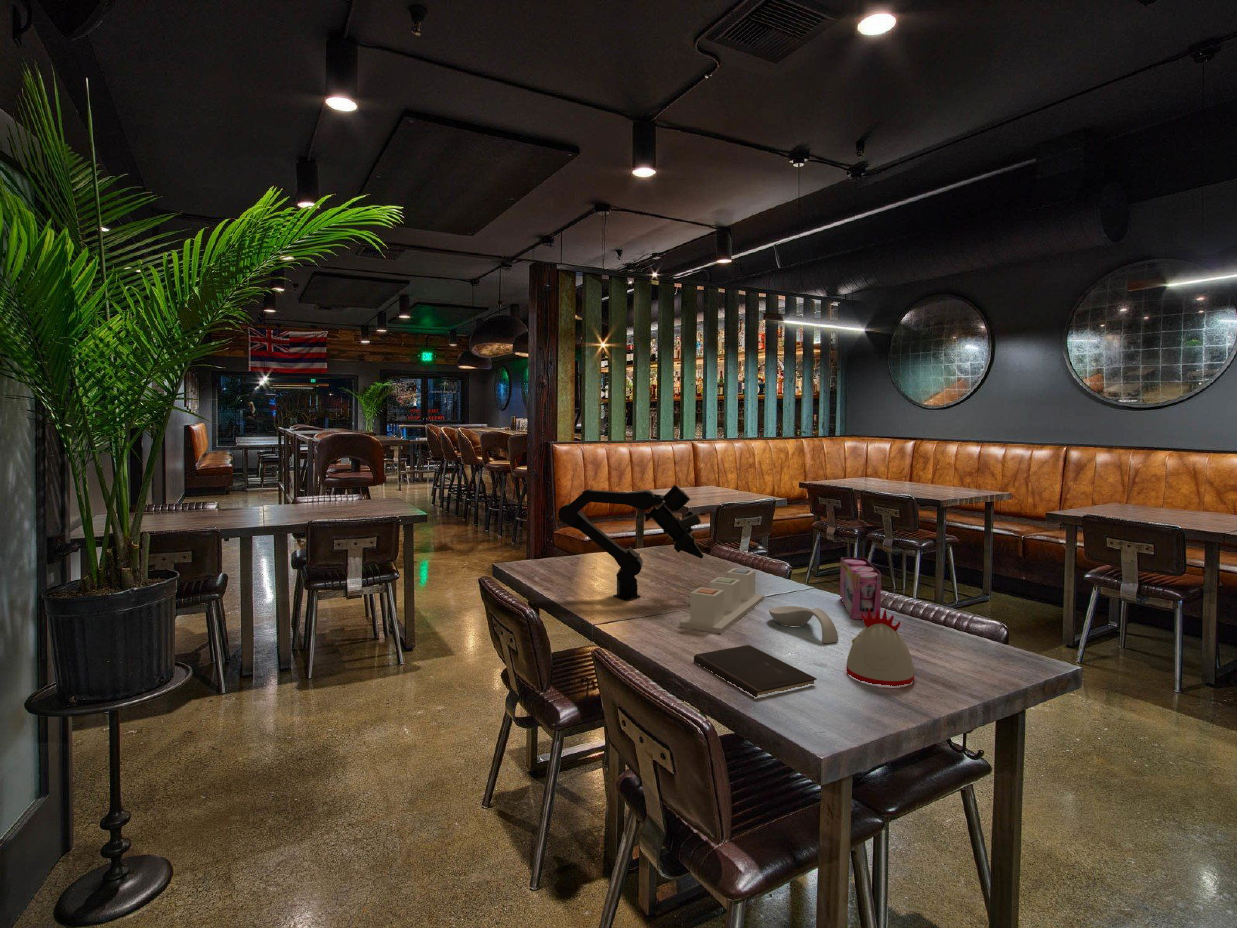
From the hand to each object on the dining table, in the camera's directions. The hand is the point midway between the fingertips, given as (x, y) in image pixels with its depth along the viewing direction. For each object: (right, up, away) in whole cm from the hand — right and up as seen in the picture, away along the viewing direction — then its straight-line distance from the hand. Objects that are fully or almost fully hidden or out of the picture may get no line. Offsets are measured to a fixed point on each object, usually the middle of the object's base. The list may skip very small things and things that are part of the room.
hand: (702, 557), depth 202 cm
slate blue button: (+12, -8, -1) cm, 14 cm away
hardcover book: (+3, -18, -59) cm, 62 cm away
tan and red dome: (+31, -18, -60) cm, 70 cm away
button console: (+5, -14, -13) cm, 20 cm away
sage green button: (+5, -9, -13) cm, 16 cm away
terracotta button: (-2, -9, -25) cm, 27 cm away
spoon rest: (+24, -16, -28) cm, 40 cm away
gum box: (+46, -15, -9) cm, 49 cm away
